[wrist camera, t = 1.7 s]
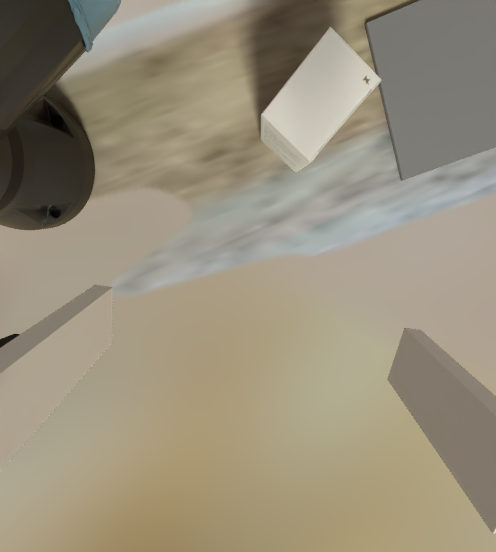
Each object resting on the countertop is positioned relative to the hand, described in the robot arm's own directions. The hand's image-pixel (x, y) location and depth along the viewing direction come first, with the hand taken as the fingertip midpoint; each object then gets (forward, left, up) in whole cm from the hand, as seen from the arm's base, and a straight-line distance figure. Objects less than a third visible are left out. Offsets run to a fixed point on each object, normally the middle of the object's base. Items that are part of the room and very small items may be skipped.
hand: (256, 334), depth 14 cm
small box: (+2, +14, -24) cm, 28 cm away
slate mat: (+18, +22, -24) cm, 37 cm away
